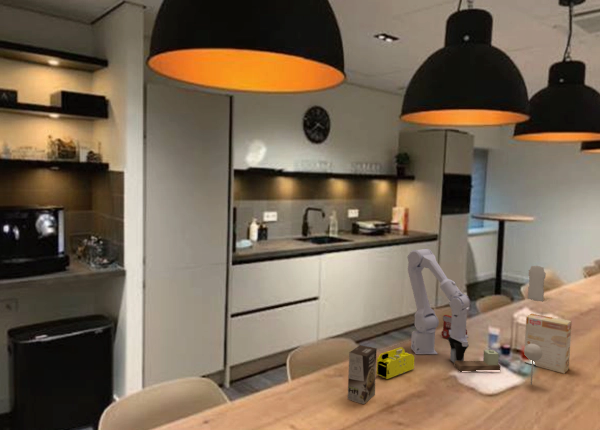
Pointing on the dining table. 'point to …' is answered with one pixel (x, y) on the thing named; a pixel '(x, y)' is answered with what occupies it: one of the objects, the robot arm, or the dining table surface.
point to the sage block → (490, 357)
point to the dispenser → (536, 283)
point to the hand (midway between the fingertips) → (457, 357)
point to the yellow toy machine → (394, 363)
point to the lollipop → (533, 354)
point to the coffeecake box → (550, 341)
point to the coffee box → (362, 374)
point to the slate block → (454, 356)
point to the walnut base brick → (474, 366)
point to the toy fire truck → (447, 326)
